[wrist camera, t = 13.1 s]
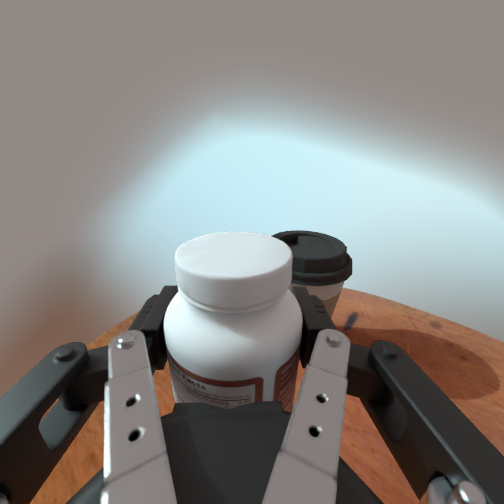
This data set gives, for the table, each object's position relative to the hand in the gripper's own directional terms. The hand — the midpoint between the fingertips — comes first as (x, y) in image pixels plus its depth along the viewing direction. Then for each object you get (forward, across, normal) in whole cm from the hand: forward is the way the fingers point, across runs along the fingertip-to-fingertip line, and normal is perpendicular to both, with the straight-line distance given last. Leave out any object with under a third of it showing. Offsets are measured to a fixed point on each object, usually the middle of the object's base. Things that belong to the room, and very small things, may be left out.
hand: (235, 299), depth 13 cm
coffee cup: (+15, -8, +18) cm, 25 cm away
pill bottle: (-2, 0, +7) cm, 8 cm away
